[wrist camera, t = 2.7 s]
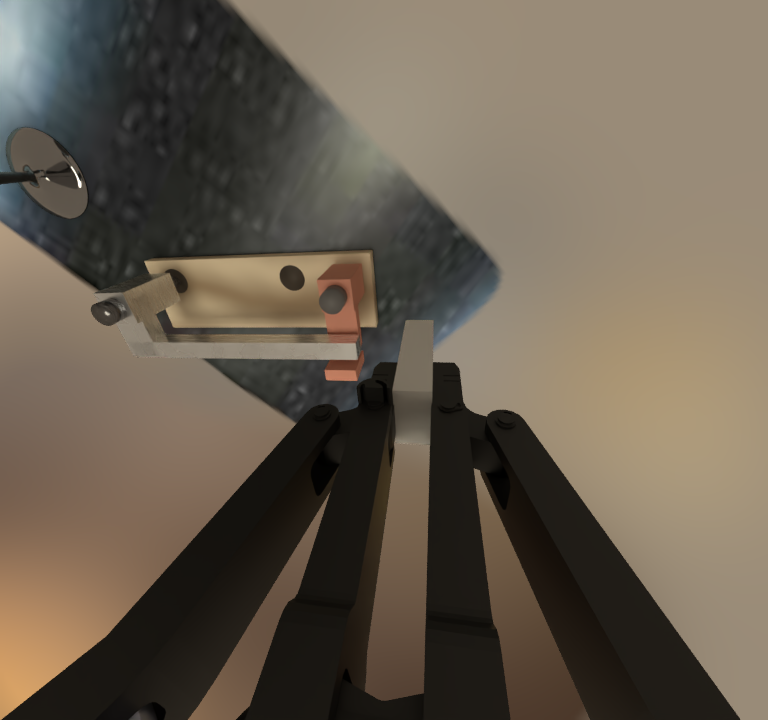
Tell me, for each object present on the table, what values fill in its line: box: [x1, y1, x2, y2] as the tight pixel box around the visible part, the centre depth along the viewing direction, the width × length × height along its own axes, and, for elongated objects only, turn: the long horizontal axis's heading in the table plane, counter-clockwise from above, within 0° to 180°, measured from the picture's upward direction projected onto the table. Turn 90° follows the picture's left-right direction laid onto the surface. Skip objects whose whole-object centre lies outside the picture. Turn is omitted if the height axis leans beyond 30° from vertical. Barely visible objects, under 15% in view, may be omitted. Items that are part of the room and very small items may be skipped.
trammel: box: [91, 273, 361, 360], centre depth 27 cm, size 6×20×8 cm, turn 94°
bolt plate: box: [144, 250, 378, 328], centre depth 31 cm, size 7×22×1 cm, turn 94°
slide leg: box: [317, 263, 365, 381], centre depth 27 cm, size 8×3×6 cm, turn 4°
